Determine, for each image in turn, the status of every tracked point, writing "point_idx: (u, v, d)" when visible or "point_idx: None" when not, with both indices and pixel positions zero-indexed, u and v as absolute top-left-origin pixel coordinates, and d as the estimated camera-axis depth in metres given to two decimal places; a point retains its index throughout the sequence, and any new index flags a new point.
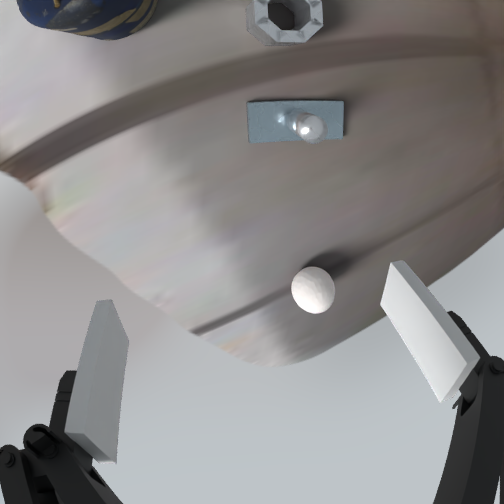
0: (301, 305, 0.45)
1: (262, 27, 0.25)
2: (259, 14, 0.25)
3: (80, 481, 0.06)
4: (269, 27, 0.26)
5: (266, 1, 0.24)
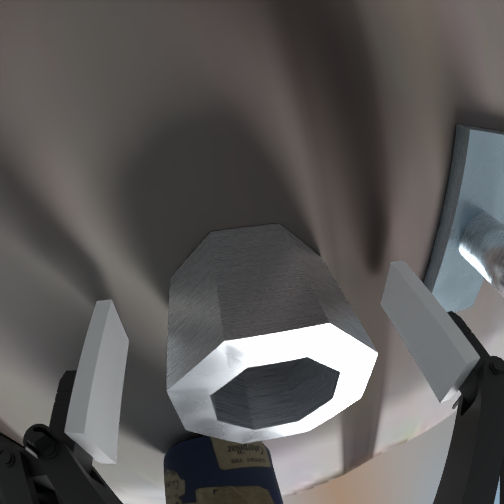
0: None
1: (319, 422, 0.12)
2: (286, 432, 0.12)
3: (80, 481, 0.06)
4: (322, 415, 0.12)
5: (249, 431, 0.11)
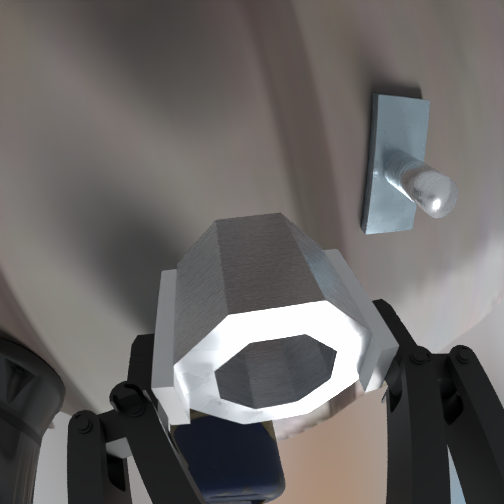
0: None
1: (318, 403, 0.13)
2: (286, 412, 0.13)
3: (161, 445, 0.08)
4: (320, 396, 0.12)
5: (251, 410, 0.12)
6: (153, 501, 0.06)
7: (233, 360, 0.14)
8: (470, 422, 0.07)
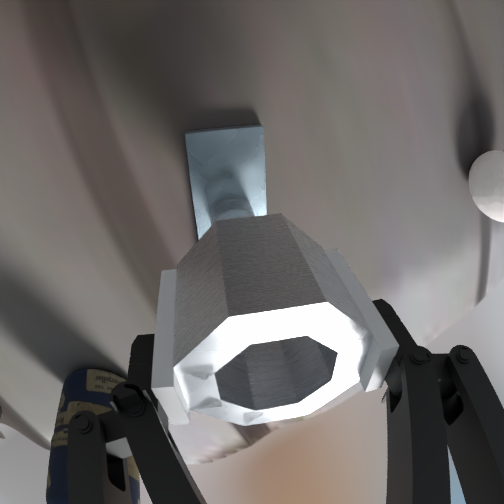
0: None
1: (319, 405, 0.13)
2: (286, 414, 0.13)
3: (161, 445, 0.08)
4: (321, 397, 0.12)
5: (251, 412, 0.12)
6: (153, 501, 0.06)
7: (233, 361, 0.14)
8: (470, 422, 0.07)
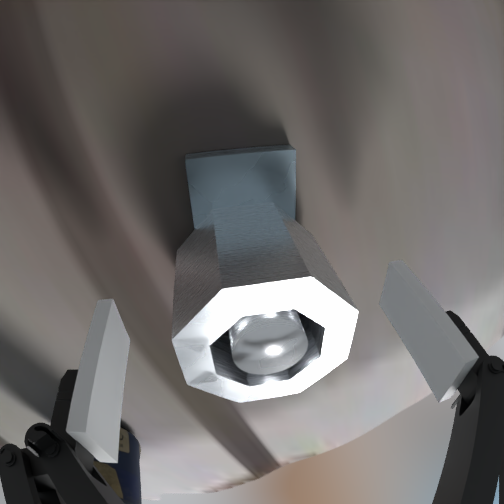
0: None
1: (310, 382, 0.14)
2: (279, 391, 0.14)
3: (81, 480, 0.06)
4: (311, 374, 0.13)
5: (245, 387, 0.13)
6: None
7: (229, 341, 0.15)
8: None
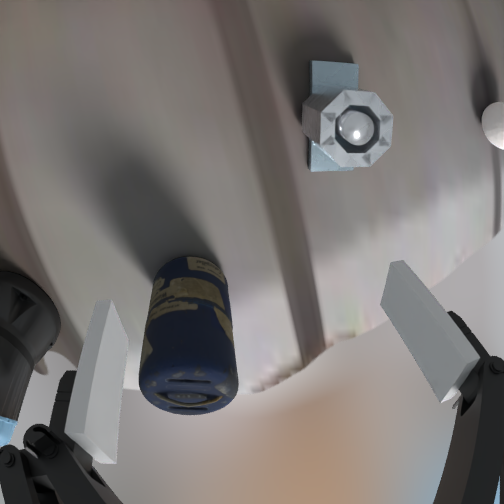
0: None
1: (374, 159, 0.27)
2: (360, 162, 0.27)
3: (80, 481, 0.06)
4: (375, 152, 0.27)
5: (345, 153, 0.26)
6: None
7: None
8: None
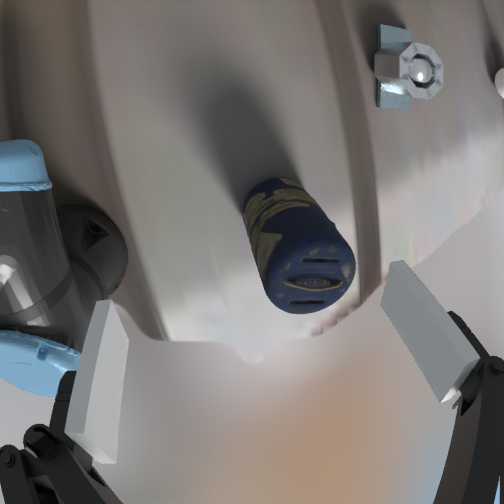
0: None
1: (433, 94, 0.31)
2: (424, 95, 0.31)
3: (80, 481, 0.06)
4: (433, 89, 0.30)
5: (415, 87, 0.30)
6: None
7: None
8: None
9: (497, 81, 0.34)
